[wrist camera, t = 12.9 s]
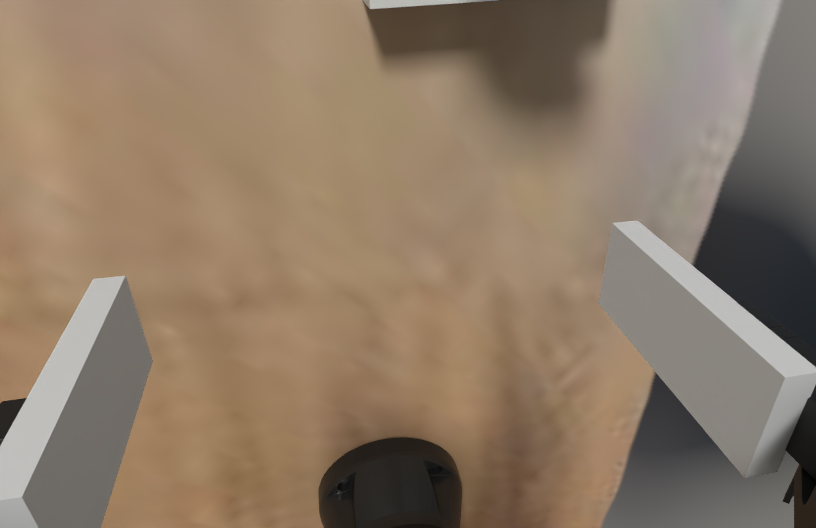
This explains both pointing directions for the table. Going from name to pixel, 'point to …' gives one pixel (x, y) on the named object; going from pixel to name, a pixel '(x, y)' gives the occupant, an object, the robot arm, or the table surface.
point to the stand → (412, 3)
